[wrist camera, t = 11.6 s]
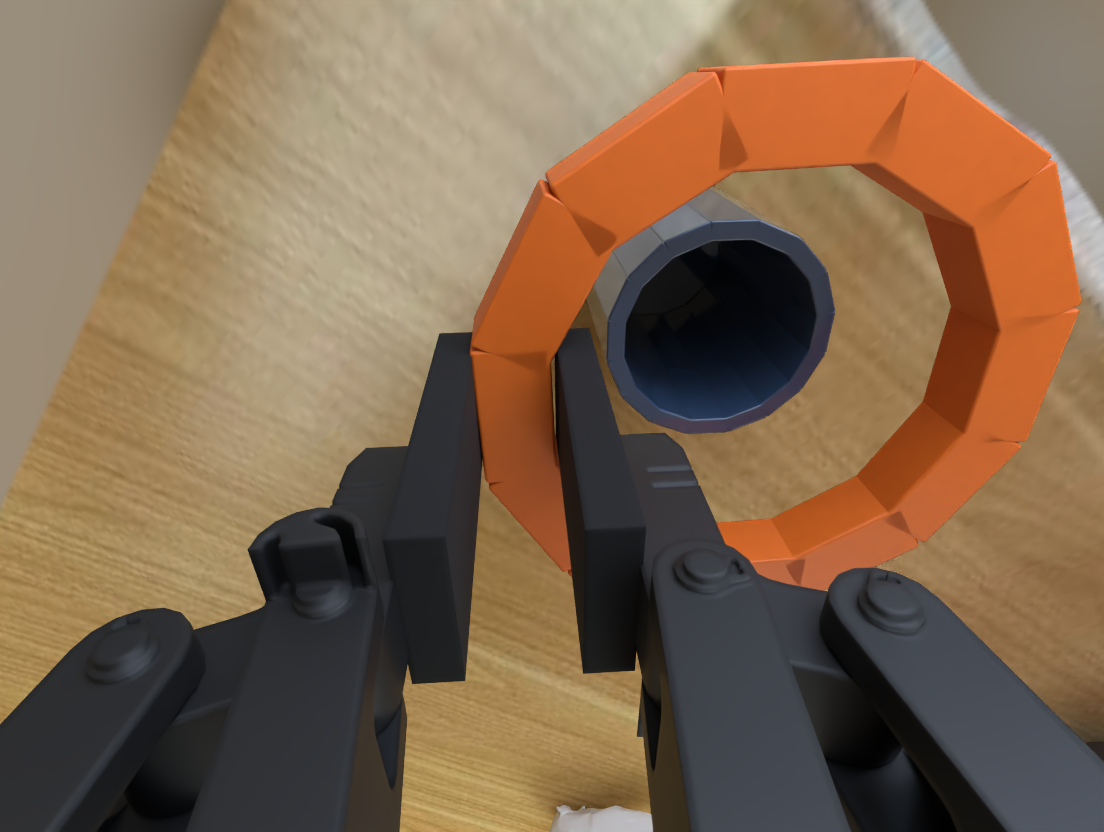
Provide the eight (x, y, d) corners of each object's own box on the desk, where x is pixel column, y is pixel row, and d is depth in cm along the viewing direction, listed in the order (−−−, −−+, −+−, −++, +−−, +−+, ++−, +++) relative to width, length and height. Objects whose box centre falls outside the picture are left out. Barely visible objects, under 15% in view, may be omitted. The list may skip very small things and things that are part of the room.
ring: (443, 82, 11) (434, 83, 9) (1107, 45, 11) (1193, 40, 10) (503, 582, 17) (503, 628, 16) (931, 547, 17) (967, 587, 16)
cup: (575, 169, 22) (610, 223, 14) (737, 164, 22) (858, 216, 14) (575, 323, 25) (603, 438, 17) (717, 318, 25) (808, 429, 17)
